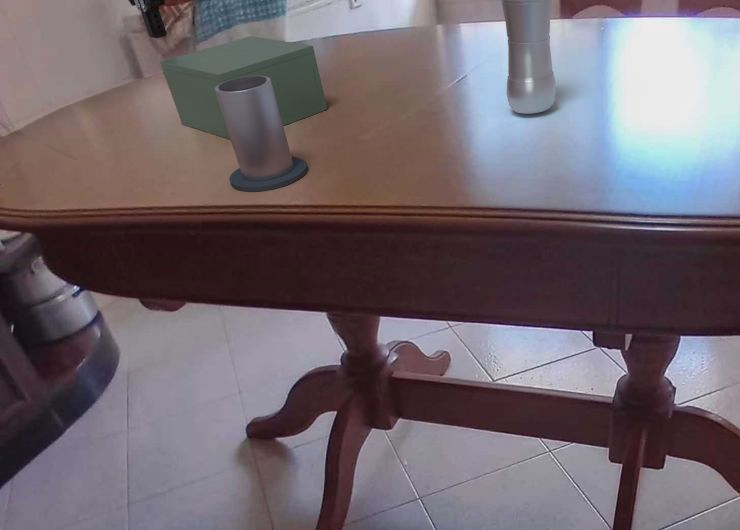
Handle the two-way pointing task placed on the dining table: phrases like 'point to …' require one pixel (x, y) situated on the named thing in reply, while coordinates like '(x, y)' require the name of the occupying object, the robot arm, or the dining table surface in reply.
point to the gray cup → (255, 127)
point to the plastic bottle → (529, 55)
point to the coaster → (292, 176)
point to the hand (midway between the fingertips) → (158, 36)
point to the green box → (241, 59)
